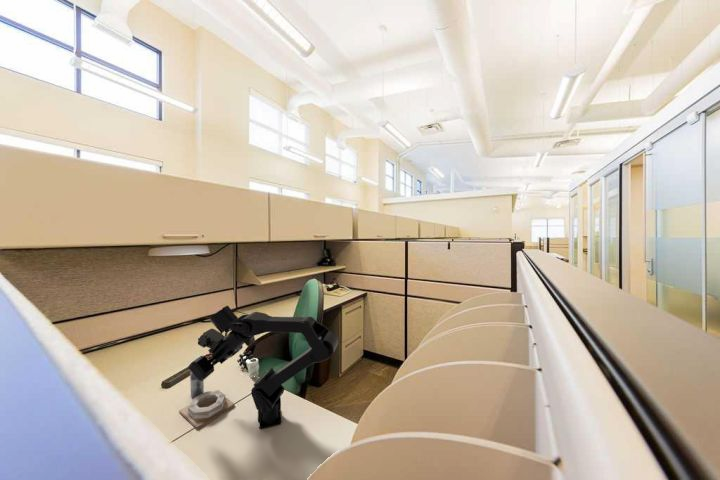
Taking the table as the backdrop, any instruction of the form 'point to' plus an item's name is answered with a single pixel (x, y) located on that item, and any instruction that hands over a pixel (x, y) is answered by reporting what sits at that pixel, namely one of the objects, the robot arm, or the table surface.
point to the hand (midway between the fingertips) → (202, 370)
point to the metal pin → (196, 387)
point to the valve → (249, 364)
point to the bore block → (206, 408)
